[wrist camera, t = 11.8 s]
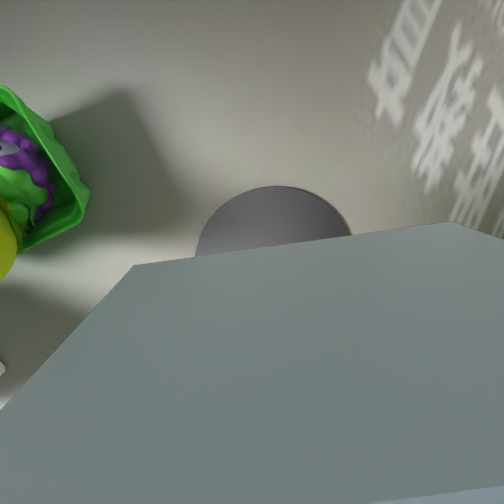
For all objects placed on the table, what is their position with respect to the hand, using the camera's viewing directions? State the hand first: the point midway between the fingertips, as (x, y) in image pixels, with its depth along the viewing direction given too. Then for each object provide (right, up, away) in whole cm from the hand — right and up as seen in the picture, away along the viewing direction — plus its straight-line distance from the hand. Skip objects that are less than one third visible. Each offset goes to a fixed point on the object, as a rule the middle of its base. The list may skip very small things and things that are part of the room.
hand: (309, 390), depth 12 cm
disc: (0, +4, +13) cm, 14 cm away
